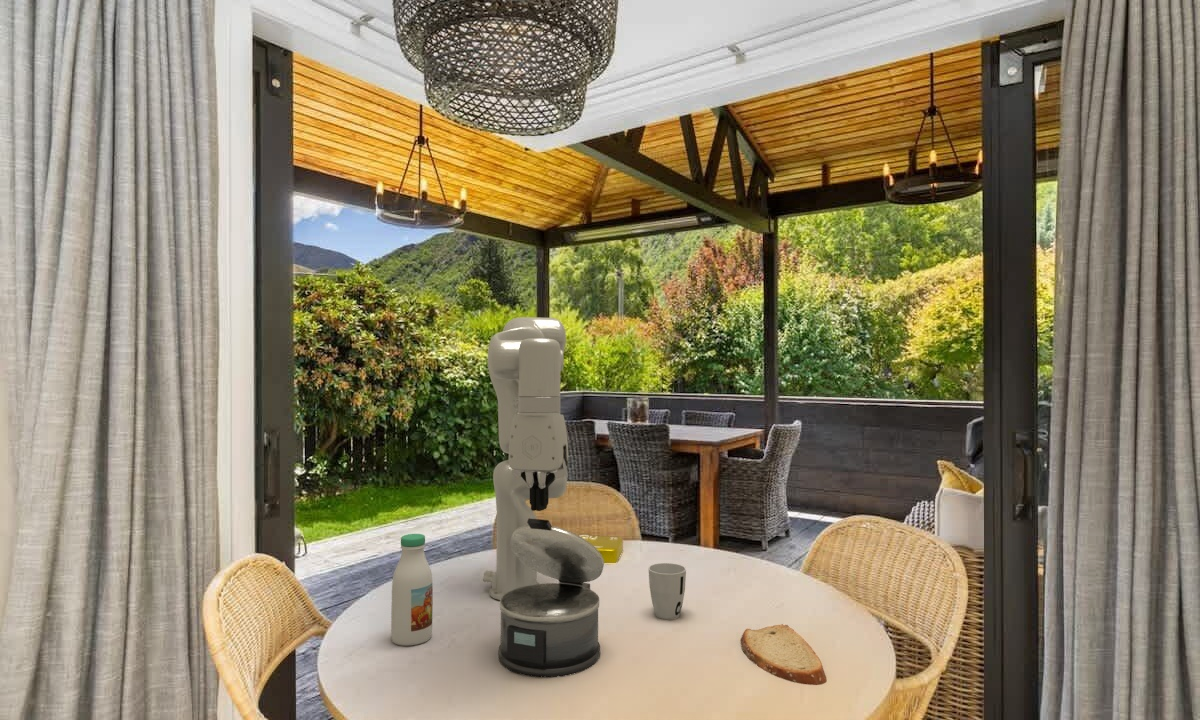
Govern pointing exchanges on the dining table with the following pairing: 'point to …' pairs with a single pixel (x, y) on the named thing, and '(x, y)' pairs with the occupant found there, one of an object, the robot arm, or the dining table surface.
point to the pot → (549, 629)
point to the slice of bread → (783, 654)
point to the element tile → (606, 546)
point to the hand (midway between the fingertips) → (539, 509)
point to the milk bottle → (412, 594)
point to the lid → (556, 552)
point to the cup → (667, 589)
